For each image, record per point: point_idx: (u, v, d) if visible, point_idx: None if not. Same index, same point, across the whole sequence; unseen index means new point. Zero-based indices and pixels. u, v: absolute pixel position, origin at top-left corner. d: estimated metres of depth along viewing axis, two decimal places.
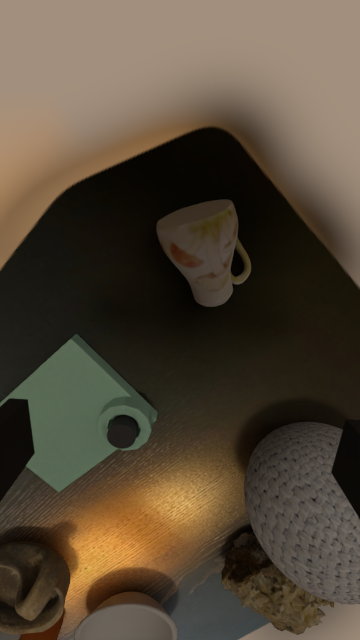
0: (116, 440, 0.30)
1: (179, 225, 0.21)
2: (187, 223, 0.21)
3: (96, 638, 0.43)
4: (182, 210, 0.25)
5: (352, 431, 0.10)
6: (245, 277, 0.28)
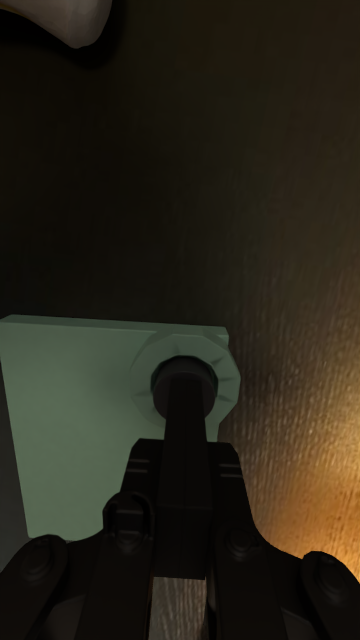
0: None
1: None
2: None
3: None
4: None
5: None
6: None
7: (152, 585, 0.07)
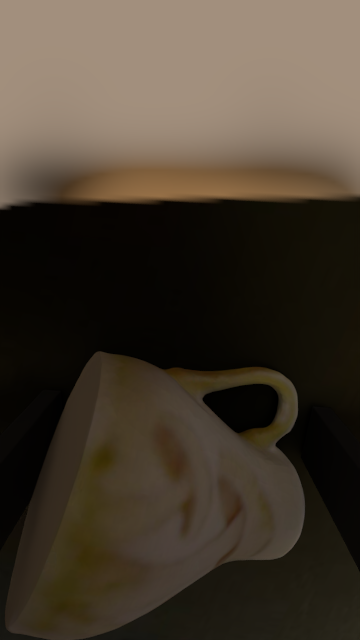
0: None
1: (10, 618, 0.06)
2: (16, 613, 0.06)
3: None
4: (60, 423, 0.10)
5: (317, 417, 0.11)
6: (294, 405, 0.11)
7: None
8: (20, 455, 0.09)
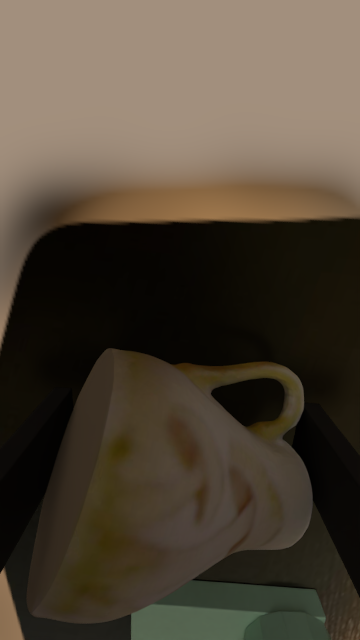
0: None
1: (33, 603, 0.06)
2: (40, 597, 0.06)
3: None
4: (72, 419, 0.11)
5: (306, 413, 0.11)
6: (300, 398, 0.11)
7: None
8: (35, 450, 0.09)
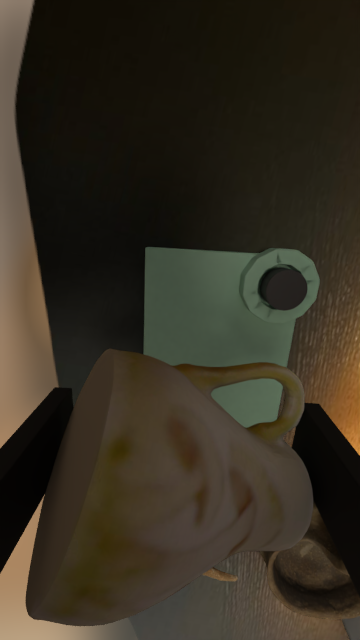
0: (285, 298, 0.21)
1: (32, 605, 0.06)
2: (39, 599, 0.06)
3: None
4: (72, 419, 0.10)
5: (305, 413, 0.11)
6: (300, 399, 0.11)
7: None
8: (35, 450, 0.09)
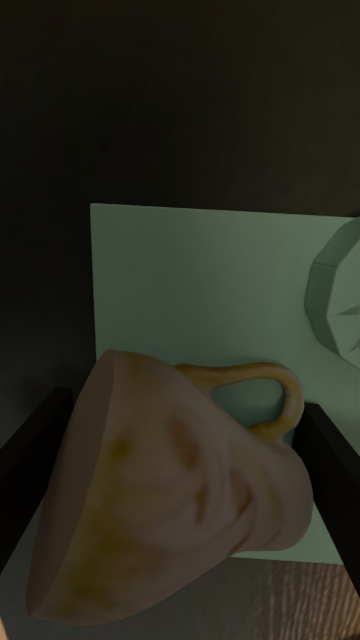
0: None
1: (32, 605, 0.06)
2: (39, 599, 0.06)
3: None
4: (72, 420, 0.10)
5: (305, 413, 0.11)
6: (300, 399, 0.11)
7: None
8: (36, 450, 0.09)
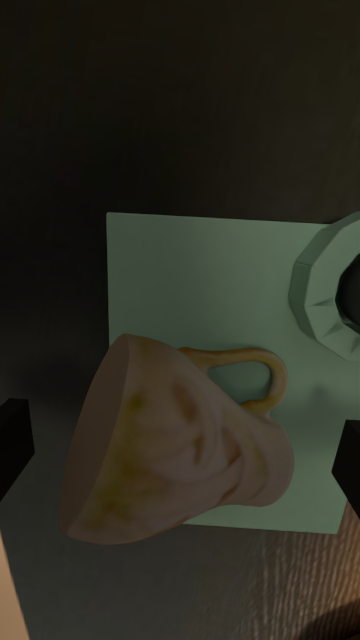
0: None
1: (68, 526, 0.08)
2: (74, 517, 0.08)
3: None
4: (89, 396, 0.12)
5: (352, 431, 0.10)
6: (285, 380, 0.13)
7: None
8: None
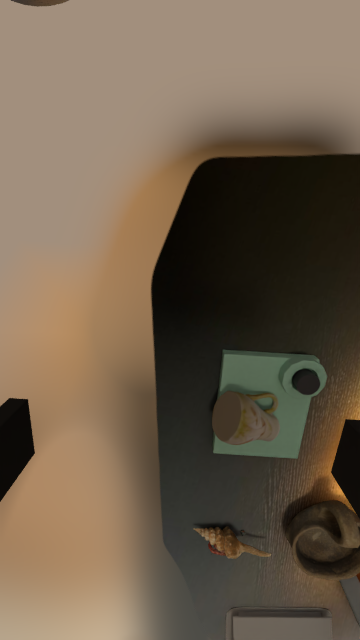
0: (307, 389, 0.37)
1: (228, 438, 0.36)
2: (231, 435, 0.35)
3: None
4: (217, 408, 0.40)
5: (352, 431, 0.10)
6: (277, 402, 0.41)
7: None
8: None
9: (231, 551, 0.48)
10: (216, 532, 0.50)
